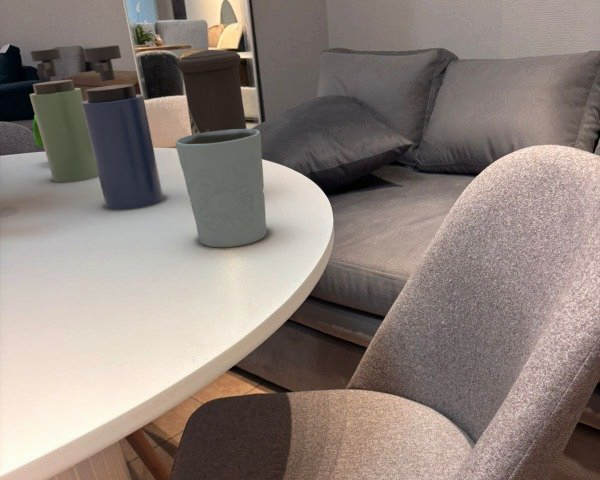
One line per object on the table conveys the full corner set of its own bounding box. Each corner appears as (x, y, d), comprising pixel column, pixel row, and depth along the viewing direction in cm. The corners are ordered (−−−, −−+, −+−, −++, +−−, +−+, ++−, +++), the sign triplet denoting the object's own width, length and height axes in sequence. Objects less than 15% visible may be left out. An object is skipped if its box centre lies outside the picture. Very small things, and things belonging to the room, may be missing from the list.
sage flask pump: (40, 76, 117) (33, 50, 114) (68, 73, 117) (61, 47, 115) (29, 80, 110) (22, 52, 108) (59, 77, 110) (52, 49, 108)
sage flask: (58, 174, 127) (33, 82, 119) (104, 169, 128) (82, 77, 119) (48, 184, 120) (21, 87, 111) (97, 178, 120) (73, 81, 111)
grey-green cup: (229, 254, 75) (212, 146, 68) (176, 241, 81) (156, 141, 75) (288, 230, 81) (278, 129, 74) (234, 220, 87) (221, 126, 81)
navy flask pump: (93, 80, 94) (86, 48, 92) (127, 76, 95) (120, 44, 92) (84, 85, 88) (75, 50, 85) (120, 81, 88) (113, 46, 86)
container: (194, 195, 102) (169, 53, 91) (246, 185, 104) (229, 46, 94) (209, 206, 95) (184, 54, 84) (265, 195, 97) (248, 46, 87)
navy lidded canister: (110, 198, 105) (84, 88, 96) (164, 192, 105) (143, 81, 97) (101, 212, 97) (72, 93, 89) (161, 205, 98) (137, 86, 89)
